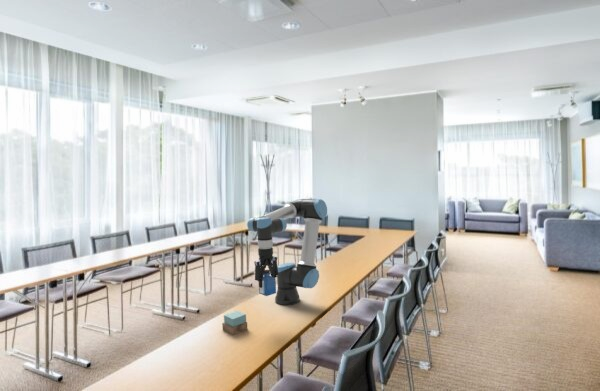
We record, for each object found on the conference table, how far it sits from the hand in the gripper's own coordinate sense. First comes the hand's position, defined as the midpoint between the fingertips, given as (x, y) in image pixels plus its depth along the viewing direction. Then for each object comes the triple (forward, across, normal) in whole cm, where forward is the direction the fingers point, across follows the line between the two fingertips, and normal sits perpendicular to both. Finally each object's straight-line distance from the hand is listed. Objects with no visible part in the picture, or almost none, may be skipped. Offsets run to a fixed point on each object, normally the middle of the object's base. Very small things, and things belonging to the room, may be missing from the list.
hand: (267, 291), depth 189 cm
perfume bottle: (+1, 0, 0) cm, 1 cm away
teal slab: (+15, +14, -10) cm, 23 cm away
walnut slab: (+19, +15, -10) cm, 26 cm away
